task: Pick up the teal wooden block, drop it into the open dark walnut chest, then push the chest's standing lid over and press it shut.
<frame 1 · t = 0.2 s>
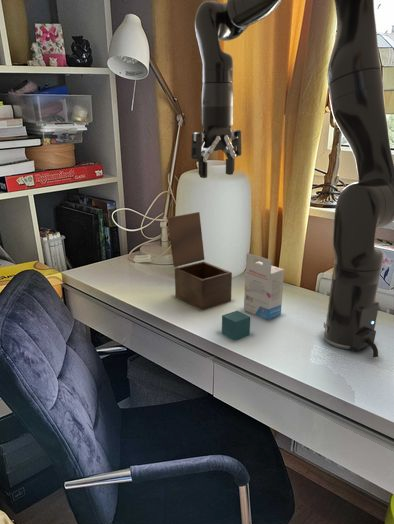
hand: (216, 176, 122), 29 cm above the table, tool pointing down, fingers open, 8 cm apart
chest lid: (186, 239, 124), point 14 cm above the table, hinge at 100.0°
ink box: (261, 313, 118), on the table
chest: (202, 298, 126), on the table
block: (235, 334, 107), on the table
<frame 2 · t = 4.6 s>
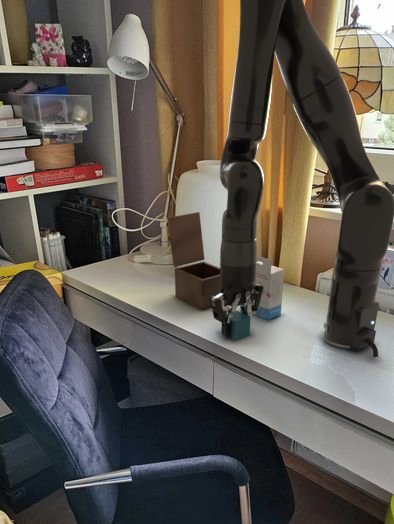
hand: (235, 332, 107), 0 cm above the table, tool pointing down, fingers closed on block, 4 cm apart
block: (235, 334, 107), on the table, touching gripper
everything else where it was.
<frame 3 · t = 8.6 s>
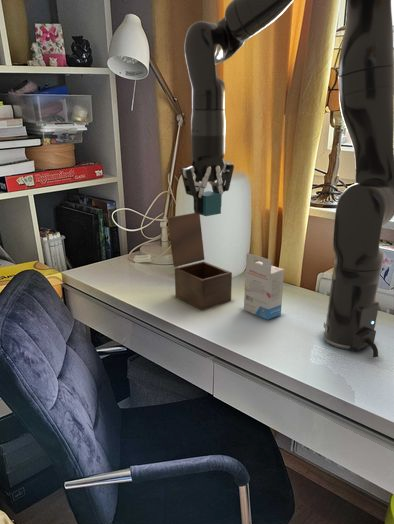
hand: (207, 211, 112), 23 cm above the table, tool pointing down, fingers closed on block, 4 cm apart
block: (207, 213, 112), point 23 cm above the table, touching gripper
everything else where it was.
when the fingers open (9 cm above the table, at t = 12.5 s): block drops 8 cm, resting on chest.
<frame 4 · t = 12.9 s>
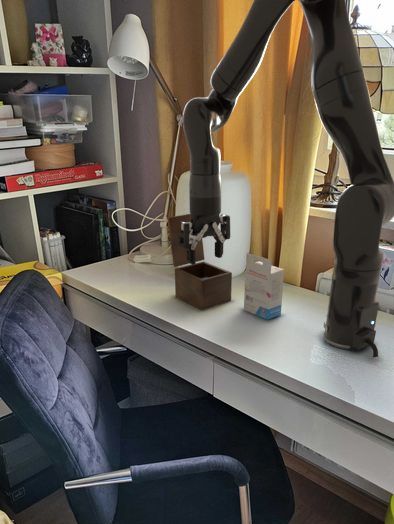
hand: (205, 260, 120), 11 cm above the table, tool pointing down, fingers open, 8 cm apart
block: (205, 297, 125), point 1 cm above the table, touching chest
everything else where it was.
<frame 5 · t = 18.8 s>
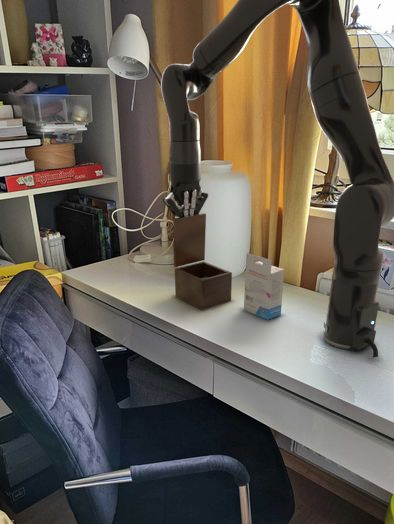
hand: (186, 232, 123), 16 cm above the table, tool pointing down, fingers closed
chest lid: (189, 240, 123), point 14 cm above the table, hinge at 87.1°, touching gripper
everything else where it was.
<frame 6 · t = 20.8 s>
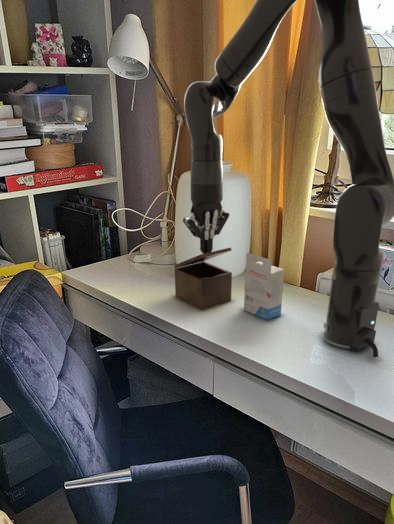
hand: (206, 253, 119), 13 cm above the table, tool pointing down, fingers closed
chest lid: (202, 258, 121), point 11 cm above the table, hinge at 26.4°, touching gripper
everything else where it was.
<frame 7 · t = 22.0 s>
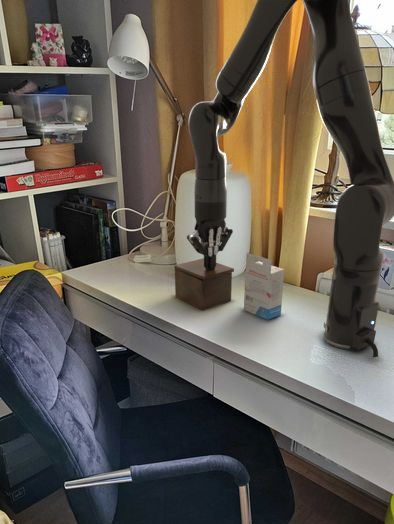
hand: (210, 269, 119), 9 cm above the table, tool pointing down, fingers closed
chest lid: (203, 268, 121), point 8 cm above the table, hinge at 1.8°, touching gripper
everything else where it was.
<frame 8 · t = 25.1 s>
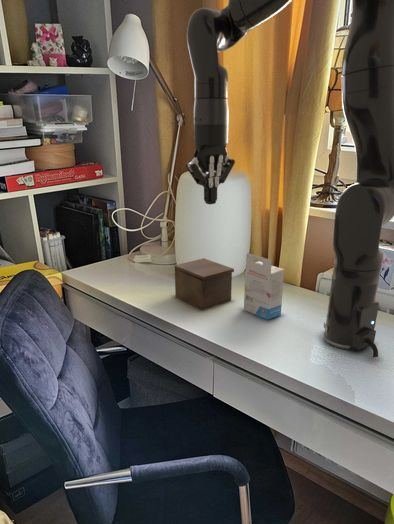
hand: (210, 203, 112), 25 cm above the table, tool pointing down, fingers closed
chest lid: (203, 268, 121), point 8 cm above the table, hinge at 1.6°
everything else where it was.
at the end: block inside the target area in the chest (1.0 cm from its centre), point 0.8 cm above the chest's base; chest lid at +2° (first picture: +100°) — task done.
